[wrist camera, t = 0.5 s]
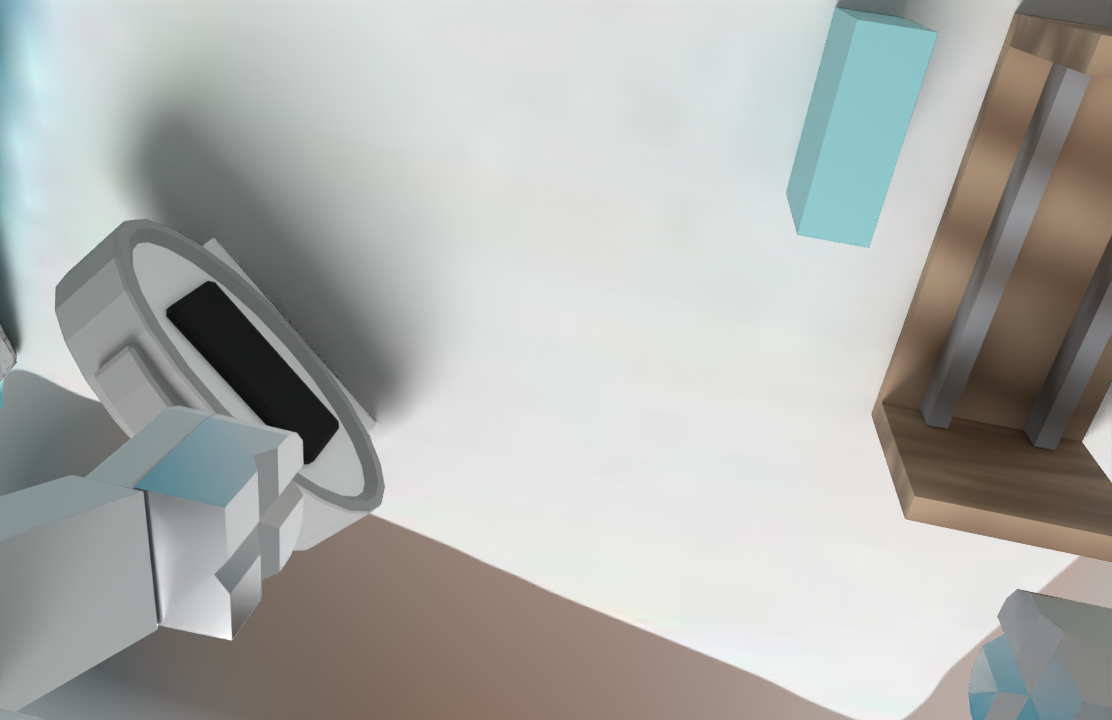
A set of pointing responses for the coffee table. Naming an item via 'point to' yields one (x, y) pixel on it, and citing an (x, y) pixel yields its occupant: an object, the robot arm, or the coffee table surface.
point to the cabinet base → (1016, 310)
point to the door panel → (856, 124)
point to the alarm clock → (214, 361)
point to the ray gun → (6, 354)
